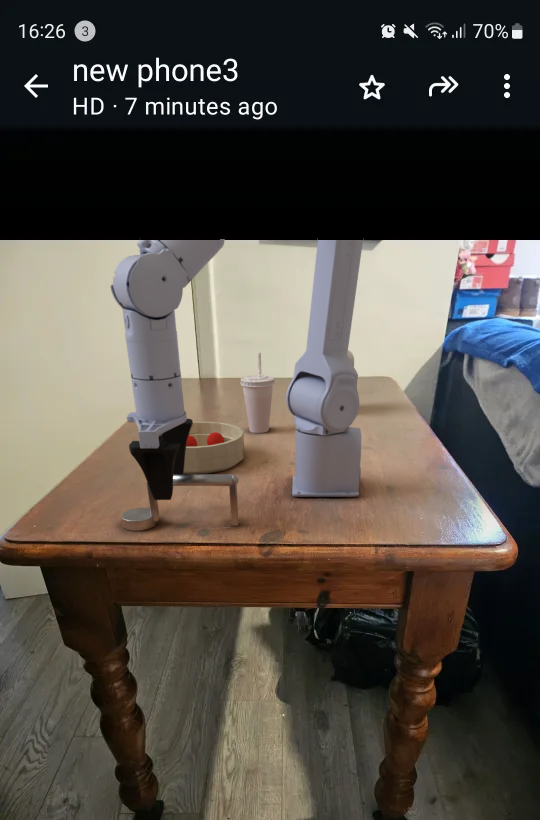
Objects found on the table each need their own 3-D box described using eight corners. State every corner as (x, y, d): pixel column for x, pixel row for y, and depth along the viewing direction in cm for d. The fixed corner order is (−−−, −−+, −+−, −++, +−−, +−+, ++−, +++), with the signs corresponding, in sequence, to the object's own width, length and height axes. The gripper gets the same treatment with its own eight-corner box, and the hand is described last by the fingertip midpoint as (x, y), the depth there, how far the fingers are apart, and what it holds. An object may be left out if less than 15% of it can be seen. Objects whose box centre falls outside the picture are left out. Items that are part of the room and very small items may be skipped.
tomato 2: (220, 455, 101) (227, 444, 102) (219, 442, 98) (226, 431, 100) (204, 451, 101) (211, 440, 103) (203, 437, 99) (210, 426, 100)
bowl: (247, 446, 104) (246, 421, 102) (239, 475, 92) (238, 447, 89) (164, 446, 105) (161, 421, 103) (144, 475, 92) (140, 447, 90)
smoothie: (281, 431, 112) (281, 353, 105) (254, 437, 109) (251, 357, 102) (263, 424, 117) (261, 349, 110) (236, 429, 114) (232, 353, 107)
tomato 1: (199, 449, 101) (198, 433, 99) (194, 457, 99) (194, 440, 97) (182, 447, 101) (181, 431, 100) (177, 455, 99) (176, 438, 97)
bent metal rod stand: (118, 530, 75) (110, 481, 71) (127, 517, 78) (120, 469, 75) (238, 531, 74) (236, 480, 70) (241, 517, 78) (239, 468, 74)
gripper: (137, 364, 73) (150, 468, 81) (103, 389, 61) (123, 509, 68) (192, 363, 73) (201, 468, 80) (170, 388, 61) (182, 509, 68)
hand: (169, 487), depth 74 cm, fingers open, 7 cm apart
